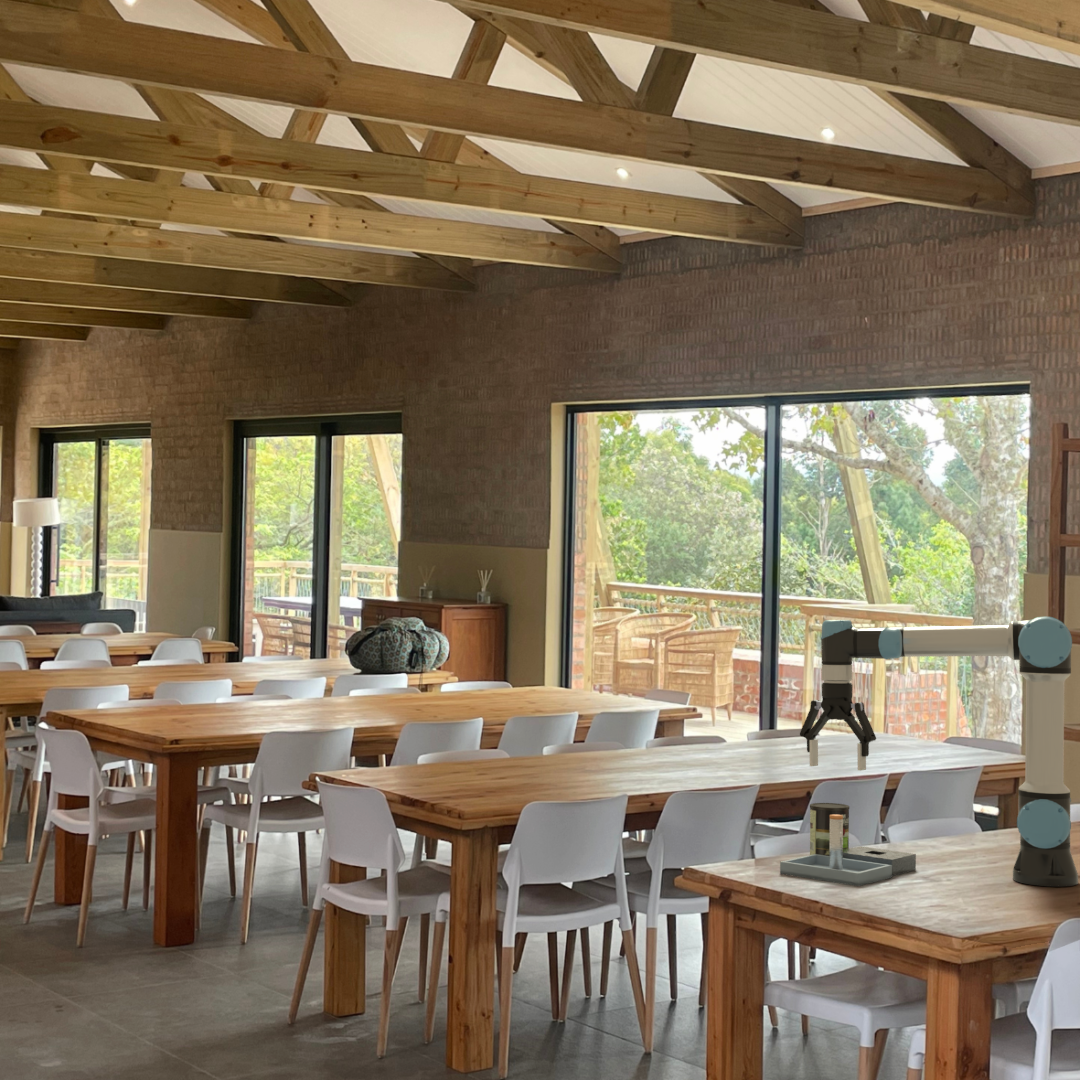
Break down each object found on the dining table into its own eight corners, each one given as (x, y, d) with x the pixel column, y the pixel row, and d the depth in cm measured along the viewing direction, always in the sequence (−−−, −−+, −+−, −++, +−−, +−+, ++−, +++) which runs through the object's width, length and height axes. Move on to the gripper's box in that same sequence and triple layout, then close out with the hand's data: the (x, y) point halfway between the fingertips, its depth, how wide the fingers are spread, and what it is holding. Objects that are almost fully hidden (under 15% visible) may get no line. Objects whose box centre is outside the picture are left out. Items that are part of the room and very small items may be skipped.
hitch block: (915, 869, 377) (915, 853, 378) (892, 875, 369) (892, 859, 369) (859, 861, 388) (860, 846, 388) (835, 867, 379) (835, 851, 379)
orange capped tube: (845, 872, 368) (845, 815, 369) (838, 874, 366) (838, 816, 366) (833, 870, 370) (834, 814, 371) (826, 872, 368) (827, 815, 368)
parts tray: (891, 877, 366) (891, 865, 367) (858, 886, 355) (858, 873, 355) (814, 865, 381) (814, 854, 381) (780, 873, 369) (780, 861, 369)
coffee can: (857, 860, 390) (857, 806, 391) (827, 863, 385) (827, 808, 386) (830, 854, 399) (831, 801, 400) (801, 857, 394) (801, 803, 394)
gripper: (889, 683, 364) (890, 770, 363) (802, 679, 381) (802, 763, 380) (874, 684, 359) (874, 772, 358) (785, 680, 375) (786, 765, 374)
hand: (837, 768), depth 369 cm, fingers open, 13 cm apart
